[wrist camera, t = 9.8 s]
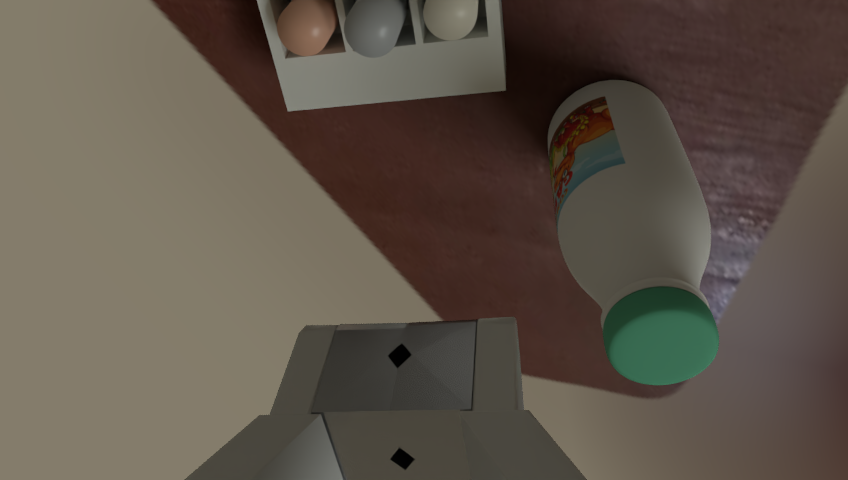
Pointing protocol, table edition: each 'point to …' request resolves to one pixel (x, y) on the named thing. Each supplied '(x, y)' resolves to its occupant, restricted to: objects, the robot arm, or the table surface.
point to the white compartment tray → (390, 61)
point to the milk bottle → (634, 229)
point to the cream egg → (450, 17)
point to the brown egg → (307, 25)
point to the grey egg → (375, 26)
